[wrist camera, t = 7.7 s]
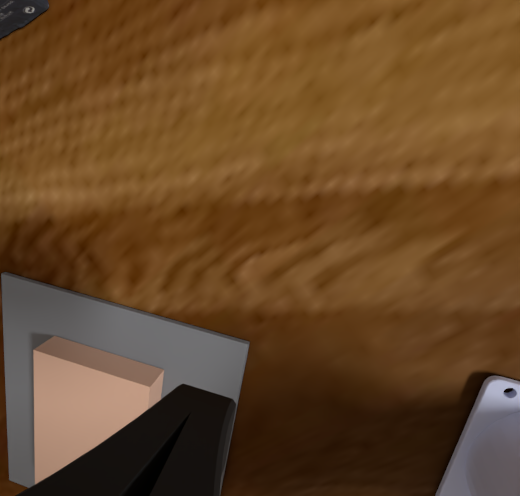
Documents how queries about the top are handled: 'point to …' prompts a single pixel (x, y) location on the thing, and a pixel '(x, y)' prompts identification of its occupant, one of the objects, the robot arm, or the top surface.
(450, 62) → the top surface
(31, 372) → the mat
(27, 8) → the small box
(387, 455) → the top surface
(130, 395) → the block
